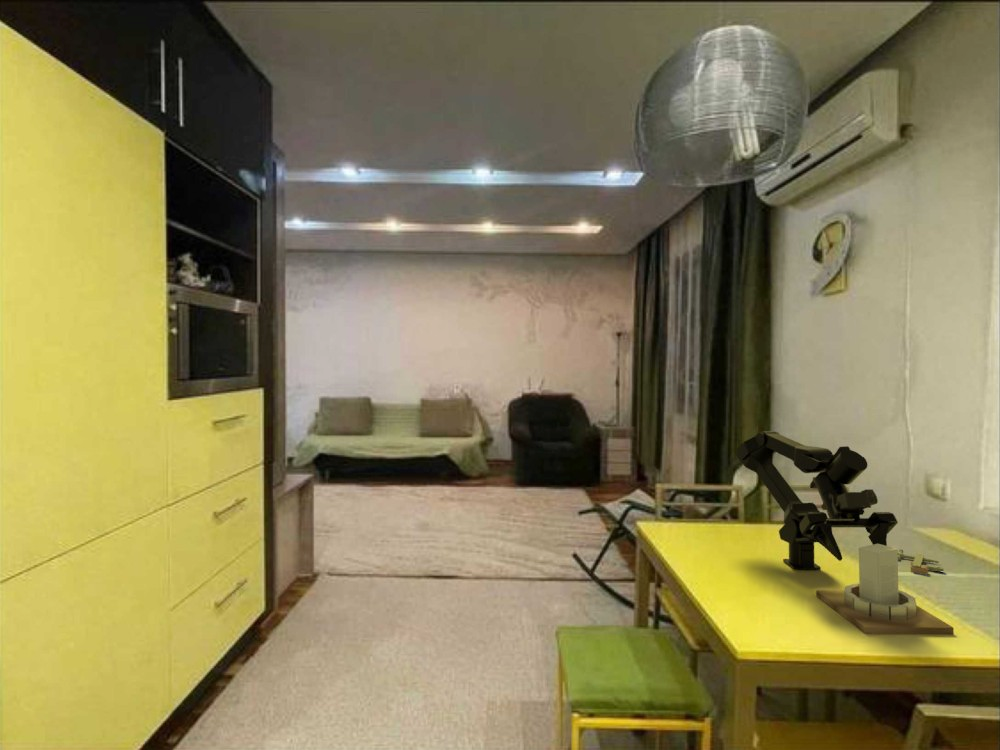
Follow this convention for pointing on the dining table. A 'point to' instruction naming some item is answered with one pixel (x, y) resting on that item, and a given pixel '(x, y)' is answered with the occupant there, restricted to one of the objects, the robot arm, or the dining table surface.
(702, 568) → the dining table surface
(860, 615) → the walnut fitting board
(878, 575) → the skincare box
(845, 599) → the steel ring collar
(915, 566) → the clamp
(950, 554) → the dining table surface
